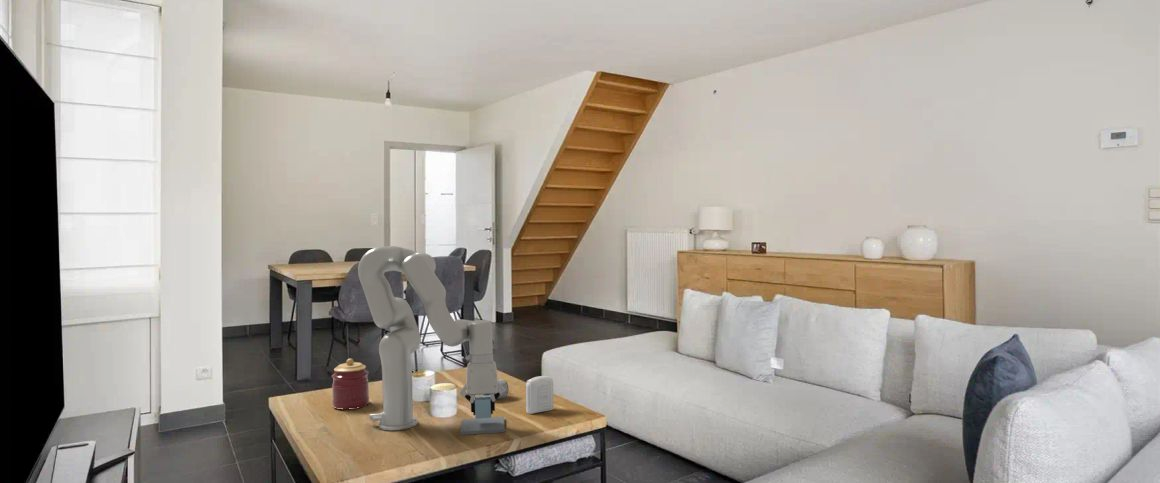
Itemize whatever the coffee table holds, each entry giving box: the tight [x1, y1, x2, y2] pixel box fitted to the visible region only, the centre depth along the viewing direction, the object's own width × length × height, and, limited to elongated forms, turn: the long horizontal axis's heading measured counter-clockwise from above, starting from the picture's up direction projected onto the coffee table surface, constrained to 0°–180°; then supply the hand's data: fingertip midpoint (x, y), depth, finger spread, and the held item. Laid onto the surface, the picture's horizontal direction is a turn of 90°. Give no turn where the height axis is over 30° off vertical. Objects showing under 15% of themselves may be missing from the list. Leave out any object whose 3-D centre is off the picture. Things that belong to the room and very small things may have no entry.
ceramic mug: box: [482, 378, 509, 400], centre depth 241 cm, size 11×8×8 cm
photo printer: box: [525, 375, 554, 415], centre depth 222 cm, size 10×4×12 cm, turn 123°
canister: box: [331, 358, 370, 409], centre depth 234 cm, size 13×13×18 cm
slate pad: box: [459, 416, 506, 436], centre depth 206 cm, size 14×13×1 cm
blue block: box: [474, 395, 492, 419], centre depth 205 cm, size 5×5×6 cm
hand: (483, 413), depth 205 cm, fingers closed on blue block, 5 cm apart
